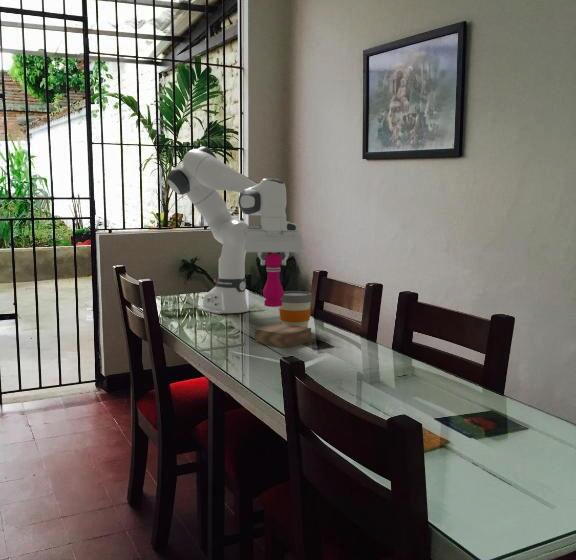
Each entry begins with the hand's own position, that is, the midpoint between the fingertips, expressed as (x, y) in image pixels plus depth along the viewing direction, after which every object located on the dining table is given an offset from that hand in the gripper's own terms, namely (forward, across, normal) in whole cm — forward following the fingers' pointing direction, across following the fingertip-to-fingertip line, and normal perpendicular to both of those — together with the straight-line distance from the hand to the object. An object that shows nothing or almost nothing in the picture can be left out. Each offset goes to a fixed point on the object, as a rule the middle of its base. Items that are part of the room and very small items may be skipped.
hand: (273, 265), depth 226 cm
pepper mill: (+14, 0, 0) cm, 14 cm away
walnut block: (+28, +4, -1) cm, 28 cm away
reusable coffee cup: (+27, +9, +14) cm, 32 cm away
